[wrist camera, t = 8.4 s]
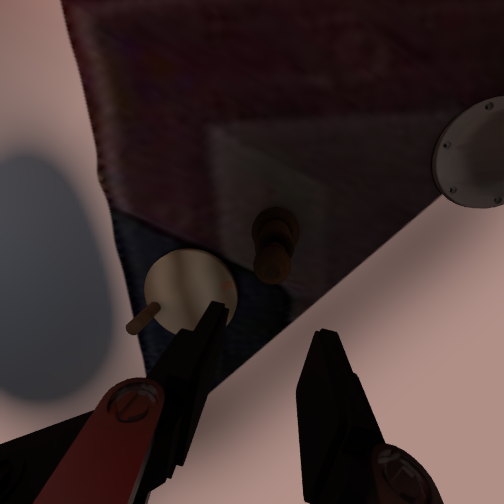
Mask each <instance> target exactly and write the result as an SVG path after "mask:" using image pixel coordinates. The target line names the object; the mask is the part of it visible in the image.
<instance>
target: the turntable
mask: <svg viewBox="0 0 504 504" xmlns="http://www.w3.org/2000/svg"><path fill="white" fill-rule="evenodd" d="M144 292H145V299H146V303H147V305H148V306H147V307H146V308H145V309H143V310H142V311H141V312H140V313H139V314H138V315H137V316H136V317H135V318H133V319H132V320H131V321H130V322H129V323H128V324H127V325H126V331H127V332H128V333H129V334H131V335H136V334H138V333H139V332H140V331H141V330H142V329H143V328H144V327H145V326H146V325H147V323H148V322H149V321H150V320H151V319H152V318H153V317H154V318H155V319H156V320H157V321H158V322H159V323H160V324H161V325H162V326H163V327H164V328H166V329H167V330H169V331H170V332H172V333H174V334H177V333H178V331H179V330H180V329H181V328H184V329H188V330H192V331H193V330H194V329H195V327H196V325H197V324H198V322H199V320H200V319H201V317H202V316H203V314H204V312H205V311H206V309H207V307H208V306H209V304H210V302H211V301H216V302H220V303H224V304H225V308H229V314H228V319H227V324H226V326H227V325H228V323H229V322H230V320H231V319H232V317H233V315H234V312H235V310H236V307H237V303H238V288H237V284H236V281H235V278H234V276H233V274H232V272H231V271H230V269H229V268H228V267H227V266H226V264H224V263H223V262H222V261H221V260H220V259H219V258H217V257H216V256H214V255H212V254H211V253H208V252H206V251H203V250H199V249H193V248H185V249H179V250H175V251H173V252H170V253H169V254H167V255H165V256H164V257H162V258H160V259H159V260H158V261H157V262H156V263H155V264H154V265H153V266H152V267H151V269H150V270H149V272H148V274H147V277H146V280H145V287H144Z"/></svg>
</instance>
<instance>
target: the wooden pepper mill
mask: <svg viewBox="0 0 504 504" xmlns="http://www.w3.org/2000/svg"><path fill="white" fill-rule="evenodd" d="M252 238H253V241H254V243H255V252H256V257H255V259H254V271H255V274H256V276H257V277H258V278H259V279H260V280H261V281H262V282H264V283H267V284H278V283H281V282H283V281H284V280H285V279H286V278H287V277H288V275H289V273H290V271H291V260H290V259H291V257H292V255H293V252H294V247H295V245H296V244H297V241H298V238H299V227H298V224H297V221H296V219H295V218H294V216H293V215H292V214H291V213H290V212H288V211H287V210H285V209H282V208H277V207H273V208H268V209H266V210H264V211H262V212H261V213H260V214H259V215H258V216H257V218H256V219H255V221H254V223H253V226H252Z"/></svg>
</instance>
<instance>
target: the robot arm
mask: <svg viewBox="0 0 504 504" xmlns="http://www.w3.org/2000/svg"><path fill="white" fill-rule="evenodd" d="M443 145H444V147H443ZM432 172H433V178H434V180H435V183H436V186H437V187H438V189H439V190H440V192H441V193H442V194H443V195H444V196H445V197H446V198H447V199H449V200H450V201H452V202H453V203H455V204H458V205H461V206H464V207H470V208H491V207H497V206H500V205H503V204H504V96H500V97H495V98H491V99H488V100H485V101H482V102H480V103H478V104H475V105H473V106H471V107H470V108H468V109H466V110H465V111H463V112H462V113H461V114H459V115H458V116H457V117H456V118H454V119H453V121H452V122H451V123H450V124H449V125H448V126H447V127H446V128H445V130H444V132H443V133H442V135H441V136H440V138H439V140H438V142H437V144H436V147H435V150H434V154H433V158H432ZM449 190H450V191H449ZM228 314H229V308H225V304H224V303H220V302H216V301H211V302H210V304H209V306H208V307H207V309H206V311H205V312H204V314H203V316H202V317H201V319H200V320H199V322H198V324H197V325H196V327H195V329H194V330H193V331H192V330H188V329H184V328H181V329H180V330H179V331H178V333H177V334H176V336H175V337H174V338H173V340H172V341H171V343H170V344H169V346H168V347H167V348H166V350H165V351H164V353H163V354H162V355H161V357H160V358H159V360H158V361H157V363H156V364H155V365H154V367H153V368H152V370H151V371H150V373H149V374H148V375H147V377H146V378H131V379H127V380H125V381H122V382H120V383H118V384H116V385H115V386H114V387H112V388H110V390H108V392H107V393H106V394H105V395H104V396H103V398H102V400H101V401H100V402H99V404H98V405H97V407H96V408H95V410H93V411H90V412H88V413H85V414H82V415H79V416H77V417H74V418H71V419H68V420H65V421H63V422H60V423H58V424H54V425H52V426H49V427H46V428H44V429H41V430H38V431H35V432H33V433H30V434H27V435H25V436H22V437H19V438H16V439H13V440H11V441H8V442H5V443H2V444H0V504H147V503H148V499H149V497H150V493H151V491H152V490H154V489H155V488H157V487H159V486H160V485H161V484H163V483H165V481H166V479H167V478H170V479H171V478H172V475H173V472H174V470H175V467H176V465H179V466H183V465H184V462H185V459H186V457H187V453H188V451H189V448H190V445H191V442H192V439H193V436H194V433H195V431H196V428H197V425H198V422H199V419H200V416H201V413H202V410H203V407H204V404H205V402H206V399H207V396H208V393H209V390H210V387H211V384H212V382H213V379H214V376H215V373H216V369H217V366H218V361H219V356H220V352H221V347H222V342H223V338H224V333H225V328H226V324H227V319H228ZM296 404H297V418H298V431H299V444H300V458H301V471H302V484H303V496H304V501H305V502H307V503H310V504H444V503H443V501H442V499H441V496H440V494H439V491H438V489H437V487H436V486H435V483H434V482H433V480H432V478H431V477H430V475H429V474H428V473H427V471H426V470H425V469H424V467H423V466H422V465H421V464H420V463H419V462H417V460H415V458H413V457H412V456H411V455H409V454H408V453H407V452H405V451H404V450H402V449H400V448H398V447H396V446H393V445H390V444H386V443H385V441H384V439H383V436H382V433H381V431H380V429H379V426H378V424H377V421H376V419H375V416H374V414H373V412H372V409H371V407H370V404H369V402H368V399H367V397H366V394H365V392H364V390H363V387H362V385H361V382H360V380H359V378H358V376H357V374H355V373H353V371H352V368H351V366H350V363H349V361H348V359H347V356H346V353H345V350H344V348H343V345H342V343H341V341H340V338H339V335H338V333H337V332H334V331H331V330H327V329H323V328H322V329H321V330H320V332H319V331H315V333H314V336H313V339H312V342H311V345H310V348H309V351H308V354H307V357H306V360H305V363H304V366H303V369H302V372H301V375H300V378H299V381H298V384H297V388H296Z"/></svg>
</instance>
